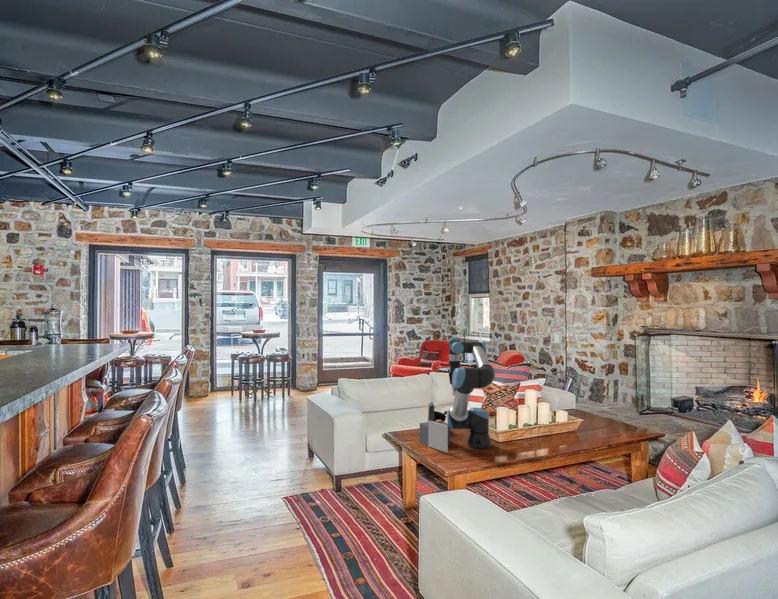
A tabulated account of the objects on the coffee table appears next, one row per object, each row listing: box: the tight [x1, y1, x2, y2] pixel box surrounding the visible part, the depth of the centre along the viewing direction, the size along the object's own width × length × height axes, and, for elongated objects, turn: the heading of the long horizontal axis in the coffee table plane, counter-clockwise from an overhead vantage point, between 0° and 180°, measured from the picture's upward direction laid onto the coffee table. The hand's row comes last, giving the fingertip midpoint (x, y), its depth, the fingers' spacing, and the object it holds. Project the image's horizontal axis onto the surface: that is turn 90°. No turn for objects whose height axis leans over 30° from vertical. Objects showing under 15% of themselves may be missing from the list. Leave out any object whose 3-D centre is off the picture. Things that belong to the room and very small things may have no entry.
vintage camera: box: [427, 401, 448, 422], centre depth 328 cm, size 10×16×20 cm, turn 89°
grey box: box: [419, 420, 451, 447], centre depth 303 cm, size 12×18×13 cm
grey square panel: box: [427, 420, 449, 454], centre depth 287 cm, size 16×1×16 cm, turn 39°
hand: (454, 395), depth 315 cm, fingers closed
